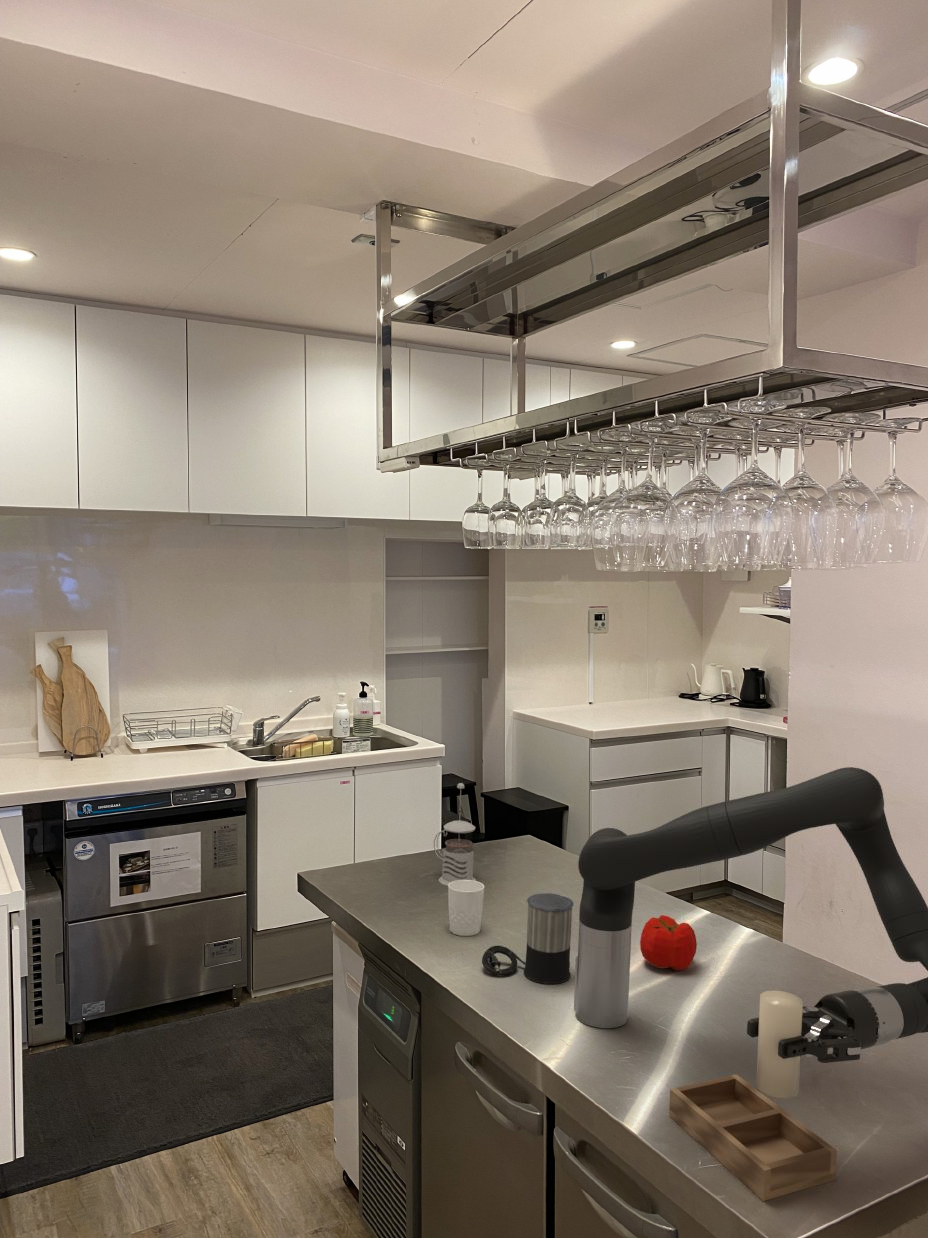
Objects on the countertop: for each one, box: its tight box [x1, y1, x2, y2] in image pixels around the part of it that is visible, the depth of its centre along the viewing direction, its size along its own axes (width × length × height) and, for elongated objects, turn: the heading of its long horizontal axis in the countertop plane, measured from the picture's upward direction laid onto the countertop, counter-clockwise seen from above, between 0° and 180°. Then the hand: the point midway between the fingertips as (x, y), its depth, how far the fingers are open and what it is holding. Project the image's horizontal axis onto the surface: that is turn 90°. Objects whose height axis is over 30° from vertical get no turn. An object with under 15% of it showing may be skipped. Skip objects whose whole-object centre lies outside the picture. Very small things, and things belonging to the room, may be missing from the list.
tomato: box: [639, 914, 698, 971], centre depth 192 cm, size 11×12×9 cm
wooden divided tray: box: [668, 1073, 838, 1202], centre depth 131 cm, size 20×12×4 cm, turn 23°
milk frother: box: [481, 892, 575, 985], centre depth 185 cm, size 14×16×15 cm
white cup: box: [447, 880, 485, 937], centre depth 206 cm, size 8×8×10 cm
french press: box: [433, 782, 477, 887], centre depth 240 cm, size 10×12×25 cm
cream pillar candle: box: [755, 990, 804, 1099], centre depth 126 cm, size 5×5×12 cm
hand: (764, 1039), depth 125 cm, fingers closed on cream pillar candle, 5 cm apart
